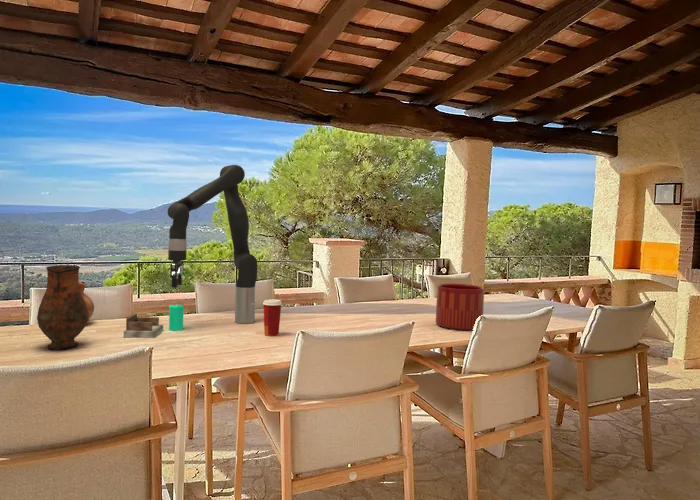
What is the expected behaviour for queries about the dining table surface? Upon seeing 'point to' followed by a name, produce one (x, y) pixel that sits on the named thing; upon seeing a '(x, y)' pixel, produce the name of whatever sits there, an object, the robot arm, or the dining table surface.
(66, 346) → the pitcher
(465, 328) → the planter
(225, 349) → the dining table surface
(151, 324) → the dock
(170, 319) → the candle
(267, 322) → the coffee cup
